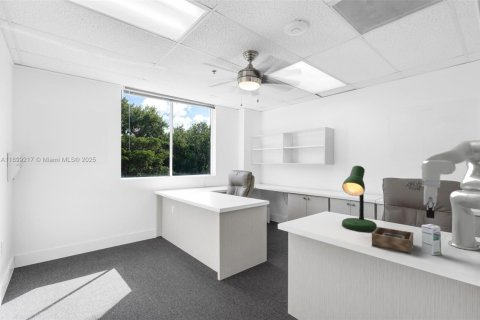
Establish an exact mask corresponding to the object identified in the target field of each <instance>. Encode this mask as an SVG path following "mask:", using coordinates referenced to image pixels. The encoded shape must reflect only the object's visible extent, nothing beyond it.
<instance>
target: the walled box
mask: <svg viewBox="0 0 480 320" xmlns="http://www.w3.org/2000/svg"><path fill="white" fill-rule="evenodd" d="M371 247H374V248H379V249H384V250H389V251H394V252H399V253H403V254H404V253H405V254H407V255H408V254H409V255H412V251H413V248H414V232H412V231H406V230H398V229H394V228H388V227H381V226H377V228H376V229H375V230H374V231H373V232H371Z"/></svg>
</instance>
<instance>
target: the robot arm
mask: <svg viewBox="0 0 480 320" xmlns="http://www.w3.org/2000/svg"><path fill="white" fill-rule="evenodd" d="M463 162H465V164H466V171H465V173H464V175H463V177H462V179H461V181H460V184H459V187H460V189H459V190H454V191H452V192H451V193H450V194H449V201H450V205H451V218H452V219H451V229H452V230H451V237H452V239H451V240H449V241H448V245H450V246H451V247H454V248H457V249H462V250H468V251H479V250H480V241H477V239H476V215H475V213H474V212H473V210H477V211H478V210H479V211H480V139H478V140H476V139H474V140H466V141H462V142H459V144H457V145H456V146H454V147H452V148H451V149H449V150H447V151H443V152H440V153H436V154H434V155H431V156H429V157H427V158H426V159H425V160H423V161H422V163H421V166H420V167H421V187H424V188H423V205H424V206H426V213H425V214H426V215H425V216H426V218H427V219H435V207H436V206H437V200H438V188H441V175H444V176H445V175H451V174H453V173H455V171H456V169H457V167H456V165H458V164H462V163H463Z"/></svg>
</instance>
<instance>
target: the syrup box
mask: <svg viewBox="0 0 480 320" xmlns="http://www.w3.org/2000/svg"><path fill="white" fill-rule="evenodd" d="M441 232H442V231H441V226H440V225H435V224H432V223H429V224H422V225H421V252H422V253H425V254H428V255H431V256H438V255H442V247H441V246H442V242H441V241H442V240H441V239H442V238H441V236H442V235H441Z"/></svg>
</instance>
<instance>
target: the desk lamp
mask: <svg viewBox="0 0 480 320" xmlns="http://www.w3.org/2000/svg"><path fill="white" fill-rule="evenodd" d="M365 171H366V170H365V168H364V167H363V166H362V165H354V166H353V167H352V169H351V171H350V174H349V176H348V177H347V178H346V179H345V180H344V181H343V183H342V185H341V189H342V190H343V192H344V193H346V194H347V195H350V196H356V197H357V196H358V197H359V207H358V209H359V211H358V212H359V213H358V215H359V216H358V217H347V218H344V219H342V221H341V227H343V229H346V230H350V231H356V232H361V233H364V232H365V233H373V232H374V230H375V229H376V228H377V227H378V225H377V223H376V222H374V221H373V220H370V219H366V218H365V213H364V212H365V211H364V210H365V208H364V207H365V203H364V202H365V199H364V198H365V195H364V194H365V191H366V186H365V185H366V184H365V181H364V175H365Z"/></svg>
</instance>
